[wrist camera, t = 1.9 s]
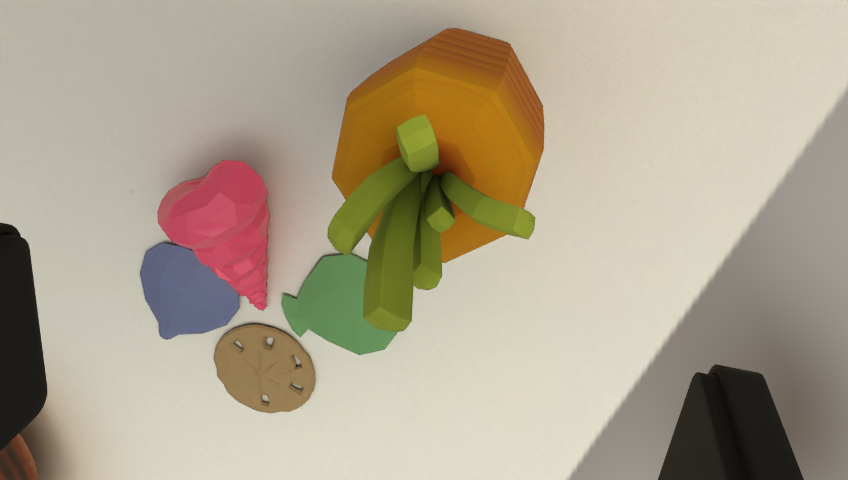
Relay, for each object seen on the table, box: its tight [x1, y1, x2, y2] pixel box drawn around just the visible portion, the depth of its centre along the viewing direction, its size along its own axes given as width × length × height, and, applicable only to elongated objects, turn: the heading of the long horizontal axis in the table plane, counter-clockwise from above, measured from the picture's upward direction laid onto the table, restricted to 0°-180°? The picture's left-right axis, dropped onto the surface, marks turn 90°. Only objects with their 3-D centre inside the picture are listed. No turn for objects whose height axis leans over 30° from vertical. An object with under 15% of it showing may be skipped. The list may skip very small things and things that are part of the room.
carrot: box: [328, 28, 544, 332], centre depth 20 cm, size 5×5×15 cm
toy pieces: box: [140, 160, 397, 413], centre depth 30 cm, size 12×11×4 cm
